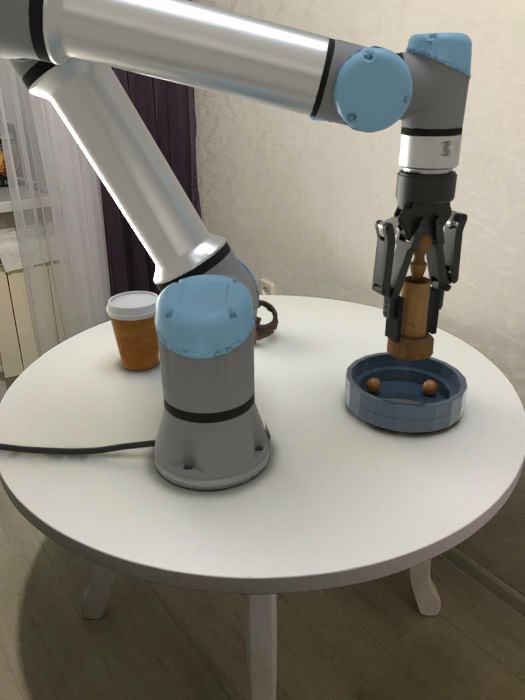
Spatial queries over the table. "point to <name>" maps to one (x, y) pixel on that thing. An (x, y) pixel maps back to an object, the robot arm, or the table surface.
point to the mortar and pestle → (415, 310)
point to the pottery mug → (268, 328)
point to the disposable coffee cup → (135, 328)
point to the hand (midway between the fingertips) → (410, 334)
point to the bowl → (405, 393)
